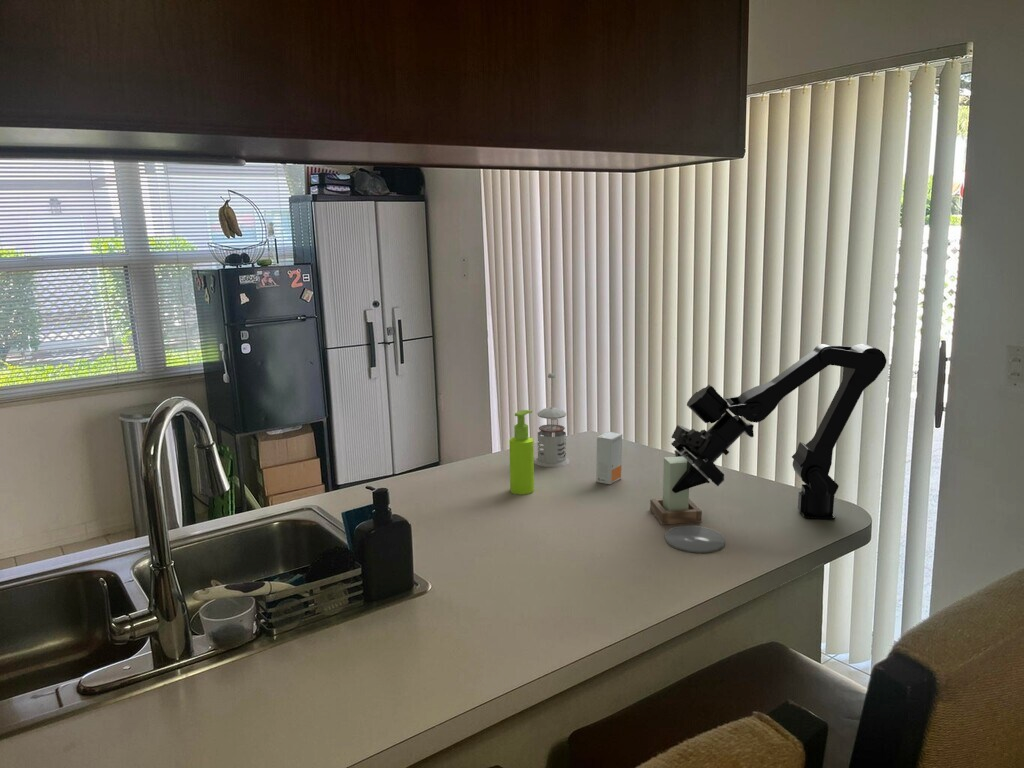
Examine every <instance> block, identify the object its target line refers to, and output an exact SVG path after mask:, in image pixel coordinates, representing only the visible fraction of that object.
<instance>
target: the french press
mask: <svg viewBox="0 0 1024 768" xmlns="http://www.w3.org/2000/svg"><path fill="white" fill-rule="evenodd" d="M547 378H548V379H550V407H545V408H543V409H541V410H539V411H538V412H537V413H536V415H537V416H538V417H539V418H541V419H546V420H547V419H550V423H549V424H543V425H540V426H539V427H538V430H539V431H538V432H537V458H536V459H535V460H534V464H535V465H538V466H540V467H547V468H548V467H549V468H558V467H564V466H566V465H569V463H571V461H570V460H569V458H568V457H567V433H566V431H565V430H566V427H565V426H564V425H561V424H558V422H559V420H558V419H562V418H564V417H566V416H567V412H566V411H564V410H563V409H560V408H558V407H553V389H552V388H553V378H555V374H554V373H552V372H551V373H548V375H547ZM553 421H556V424H553ZM553 433H554V436H553ZM541 449H542V450H541Z"/></svg>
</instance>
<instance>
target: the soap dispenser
mask: <svg viewBox="0 0 1024 768" xmlns="http://www.w3.org/2000/svg"><path fill="white" fill-rule="evenodd" d="M532 413H533V410H529V409H521V410H519V411H517V412H515V413H514V416H515V417H517V423H516V424H514V426H513V428H514V429H513V434H514V437H511V438H509V442H508V443H509V446H508V447H509V483H510V485H509V486H510V491H509V492H511V493H512V494H515V495H521V496H522V495H529V494H532V493H533V492H534V491H535V466H534V465H535V460H534V458H535V457H534V455H535V454H534V453H535V452H534V451H535V449H534V438H533V437H530V436H529V425H528V424H526V423H525V422H526V421H525V419H526V418H525V416H526V415H527V414H532Z"/></svg>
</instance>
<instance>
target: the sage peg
mask: <svg viewBox="0 0 1024 768" xmlns="http://www.w3.org/2000/svg"><path fill="white" fill-rule="evenodd" d="M687 461H688V460H687V459H685V458H684V457H683V456H681V457H675V456H666V457H663V475H662V476H663V478H662V479H663V480H662V498H663V508H664V509H665V510H666V511H676V510H688V506H689V499H690V488H688V489H686V490H683V491H680V492H677V493H674V492H673V491H672V489H673V487H674V486H675V484H676V483H677V482H678V481H679V479H680V478H681V477H682V476H683V474H684V473H685V472H686V470H687ZM688 462H689V461H688ZM689 463H690V462H689Z"/></svg>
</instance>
